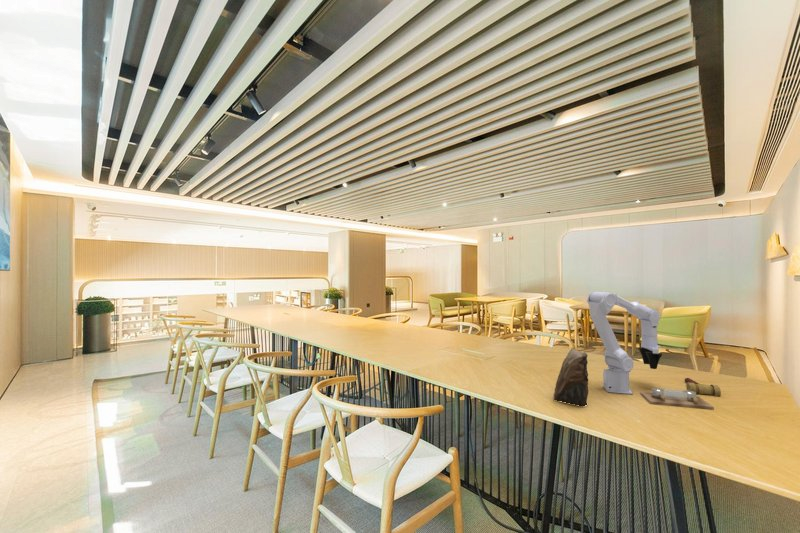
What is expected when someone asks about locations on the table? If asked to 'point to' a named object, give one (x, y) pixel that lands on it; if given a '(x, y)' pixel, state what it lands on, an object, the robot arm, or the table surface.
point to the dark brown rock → (573, 379)
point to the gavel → (702, 388)
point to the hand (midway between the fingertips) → (650, 366)
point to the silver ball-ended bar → (674, 394)
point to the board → (677, 402)
